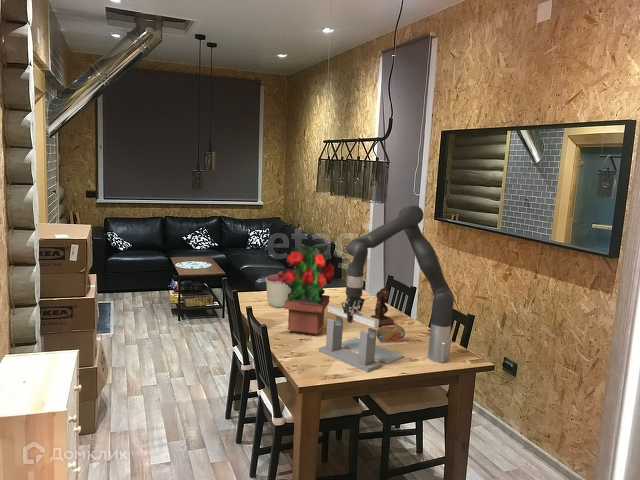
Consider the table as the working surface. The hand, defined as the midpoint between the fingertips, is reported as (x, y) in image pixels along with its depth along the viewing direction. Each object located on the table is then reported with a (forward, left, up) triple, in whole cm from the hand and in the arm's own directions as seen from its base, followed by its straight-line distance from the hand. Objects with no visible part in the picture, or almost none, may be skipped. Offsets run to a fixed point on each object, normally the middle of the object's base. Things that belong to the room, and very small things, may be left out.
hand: (352, 321), depth 236 cm
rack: (0, 0, -18) cm, 18 cm away
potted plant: (+39, -10, -18) cm, 44 cm away
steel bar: (0, 0, +1) cm, 1 cm away
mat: (0, -16, -18) cm, 24 cm away
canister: (+81, -28, -18) cm, 88 cm away
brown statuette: (+22, -52, -18) cm, 59 cm away
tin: (+2, -34, -18) cm, 39 cm away
